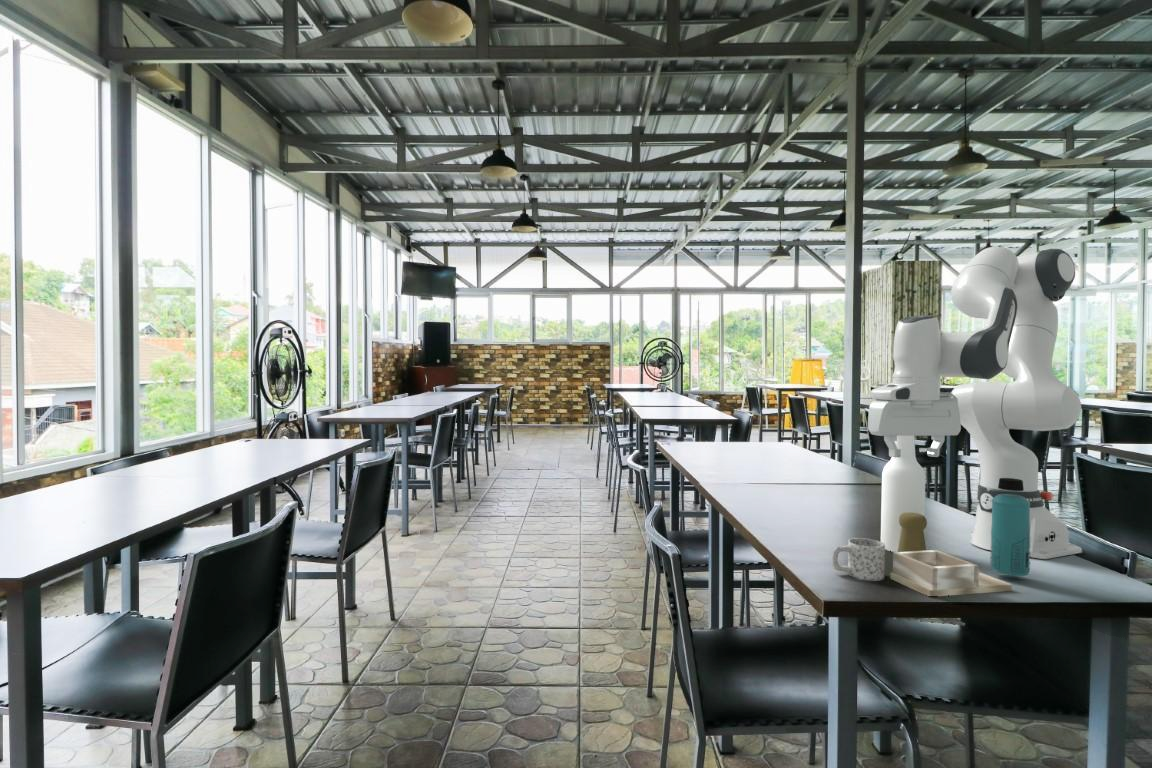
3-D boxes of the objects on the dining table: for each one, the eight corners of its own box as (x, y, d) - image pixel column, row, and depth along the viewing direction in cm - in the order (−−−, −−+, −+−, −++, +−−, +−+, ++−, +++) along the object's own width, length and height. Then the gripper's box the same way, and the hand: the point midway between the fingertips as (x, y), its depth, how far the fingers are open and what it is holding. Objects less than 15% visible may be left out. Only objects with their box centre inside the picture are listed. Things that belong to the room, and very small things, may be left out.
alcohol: (932, 554, 136) (935, 421, 136) (895, 555, 135) (898, 421, 135) (907, 543, 145) (910, 418, 144) (872, 544, 144) (875, 418, 143)
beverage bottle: (1031, 586, 116) (1034, 482, 116) (989, 579, 120) (992, 479, 120) (1028, 576, 122) (1030, 477, 122) (988, 570, 126) (990, 474, 125)
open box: (967, 573, 124) (967, 548, 124) (1011, 590, 114) (1012, 563, 114) (890, 578, 120) (891, 552, 120) (929, 597, 110) (930, 568, 110)
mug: (874, 570, 125) (875, 538, 125) (890, 581, 118) (891, 547, 118) (825, 569, 125) (826, 537, 125) (838, 580, 119) (839, 546, 119)
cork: (932, 570, 125) (933, 517, 125) (901, 567, 127) (902, 515, 126) (922, 561, 131) (923, 510, 131) (892, 559, 133) (893, 509, 132)
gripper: (945, 391, 134) (943, 454, 134) (863, 390, 129) (862, 455, 130) (969, 392, 127) (967, 458, 128) (884, 391, 123) (883, 459, 123)
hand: (914, 456), depth 129 cm, fingers open, 8 cm apart
